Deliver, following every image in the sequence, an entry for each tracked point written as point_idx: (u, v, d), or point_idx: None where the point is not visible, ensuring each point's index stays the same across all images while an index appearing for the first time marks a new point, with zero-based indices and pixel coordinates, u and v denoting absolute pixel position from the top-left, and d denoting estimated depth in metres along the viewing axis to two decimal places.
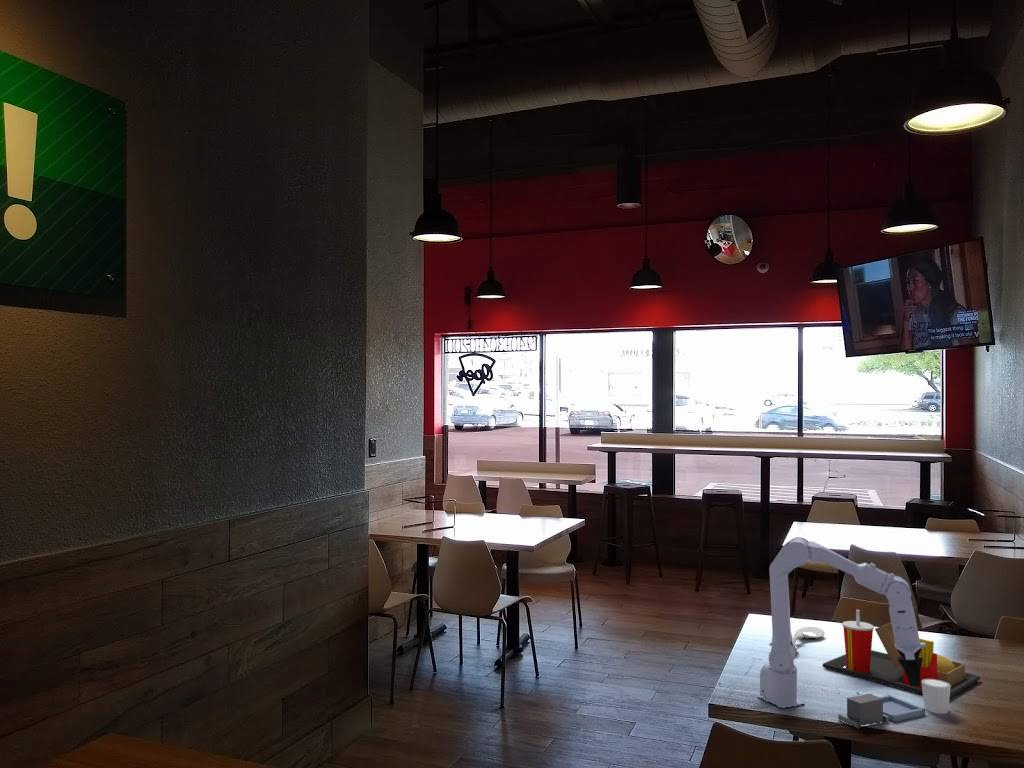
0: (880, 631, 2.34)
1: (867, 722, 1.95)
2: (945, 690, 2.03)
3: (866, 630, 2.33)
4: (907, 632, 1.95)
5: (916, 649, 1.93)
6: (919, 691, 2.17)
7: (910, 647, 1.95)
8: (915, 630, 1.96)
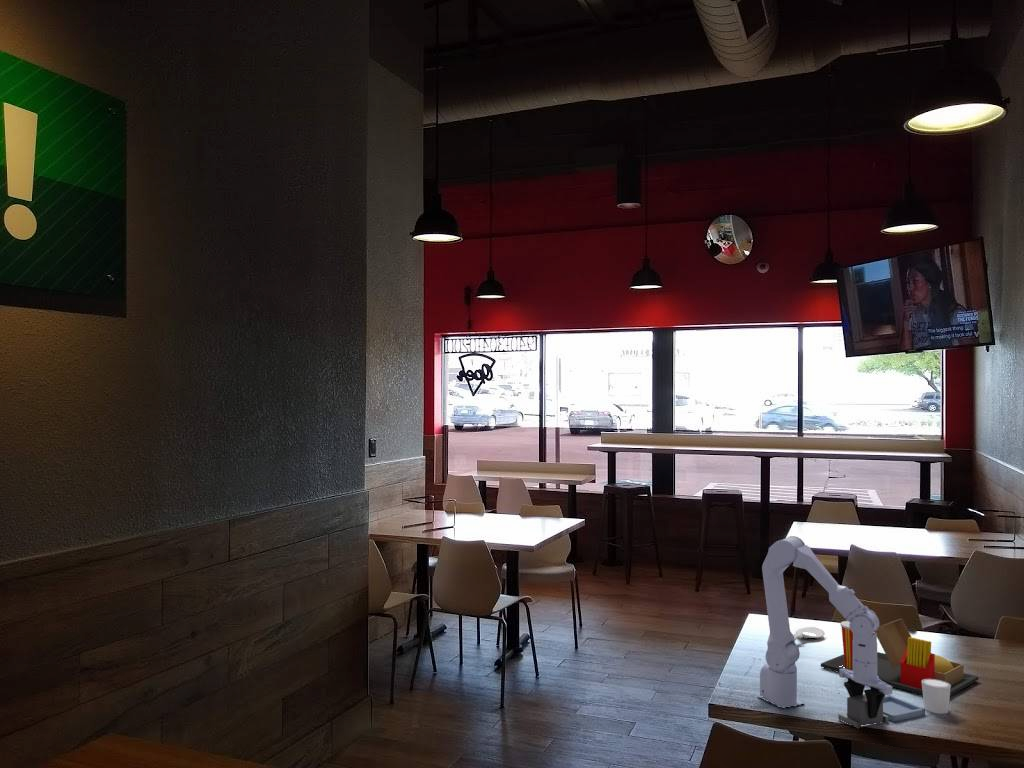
0: (878, 631, 2.34)
1: (867, 721, 1.95)
2: (945, 690, 2.03)
3: None
4: (875, 666, 1.95)
5: None
6: (916, 691, 2.17)
7: (876, 681, 1.95)
8: None
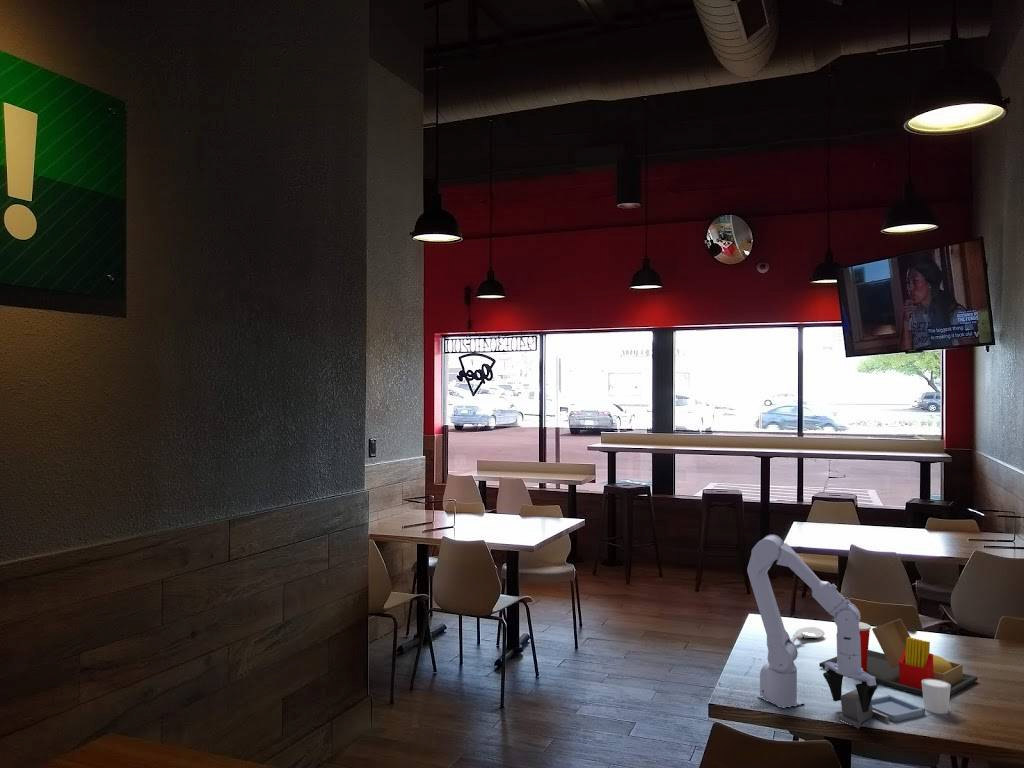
0: (877, 631, 2.34)
1: (862, 717, 1.97)
2: (945, 690, 2.03)
3: (863, 630, 2.33)
4: (859, 658, 2.00)
5: None
6: (914, 691, 2.17)
7: (860, 673, 2.00)
8: None
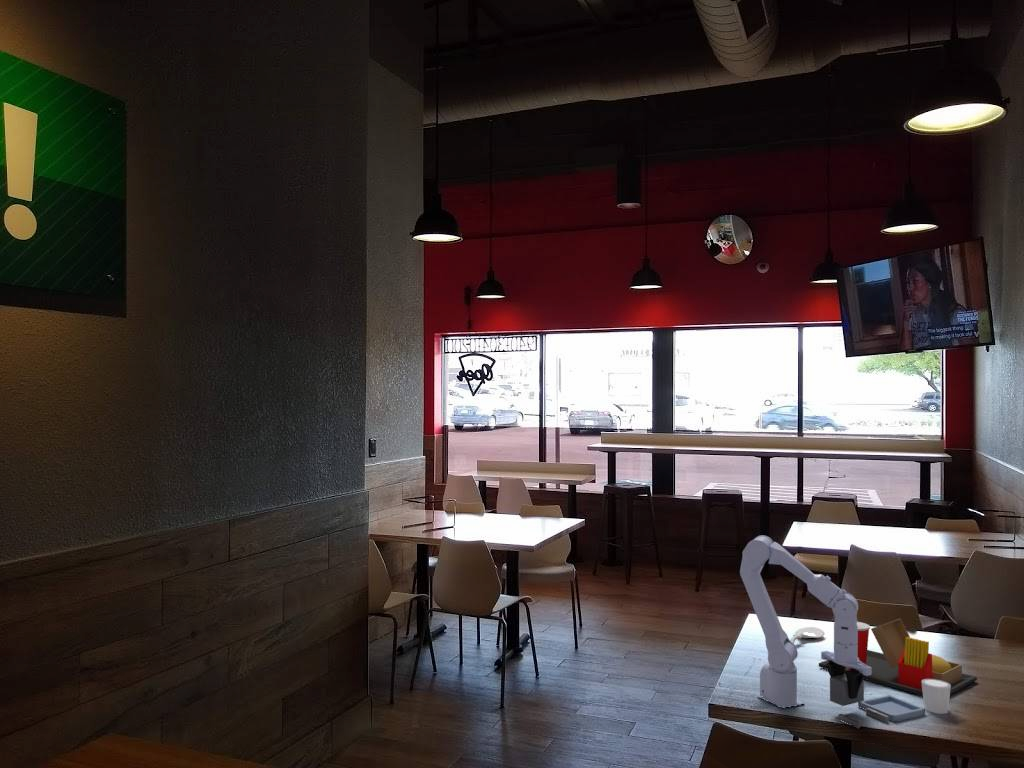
0: (876, 631, 2.34)
1: (849, 700, 2.00)
2: (945, 690, 2.03)
3: (862, 630, 2.33)
4: (855, 648, 2.01)
5: None
6: (913, 691, 2.17)
7: (856, 662, 2.00)
8: None
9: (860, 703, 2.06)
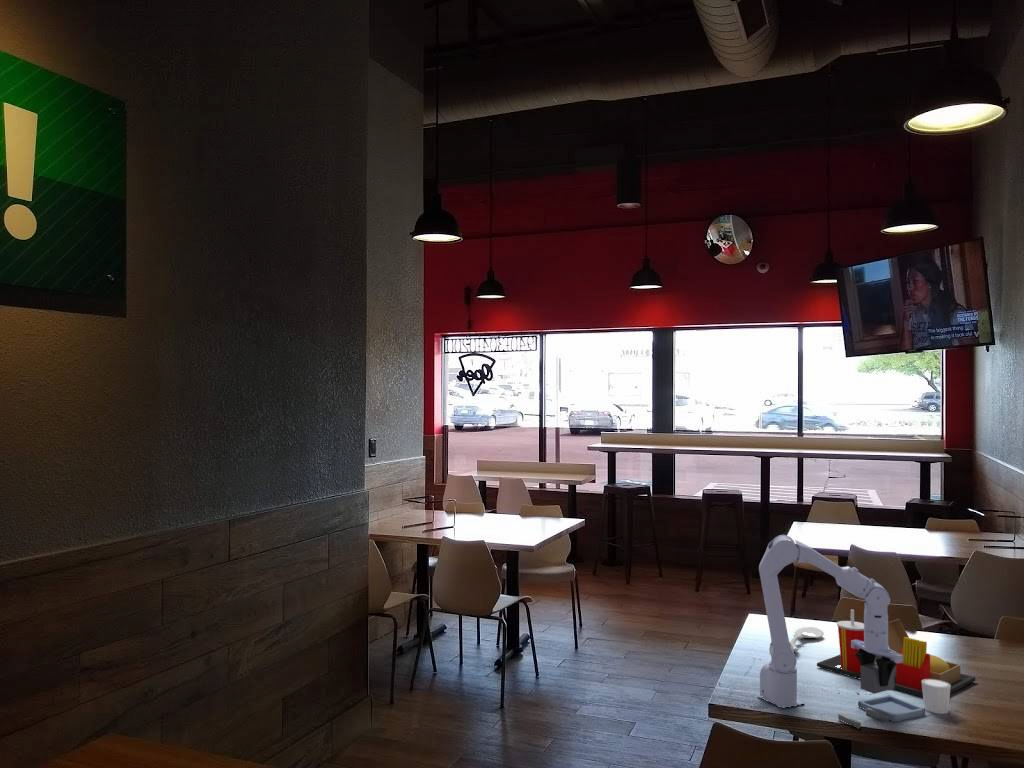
0: None
1: (880, 688, 2.02)
2: (945, 690, 2.03)
3: (860, 630, 2.33)
4: (886, 636, 2.02)
5: None
6: (911, 691, 2.17)
7: (887, 650, 2.02)
8: None
9: (860, 703, 2.06)
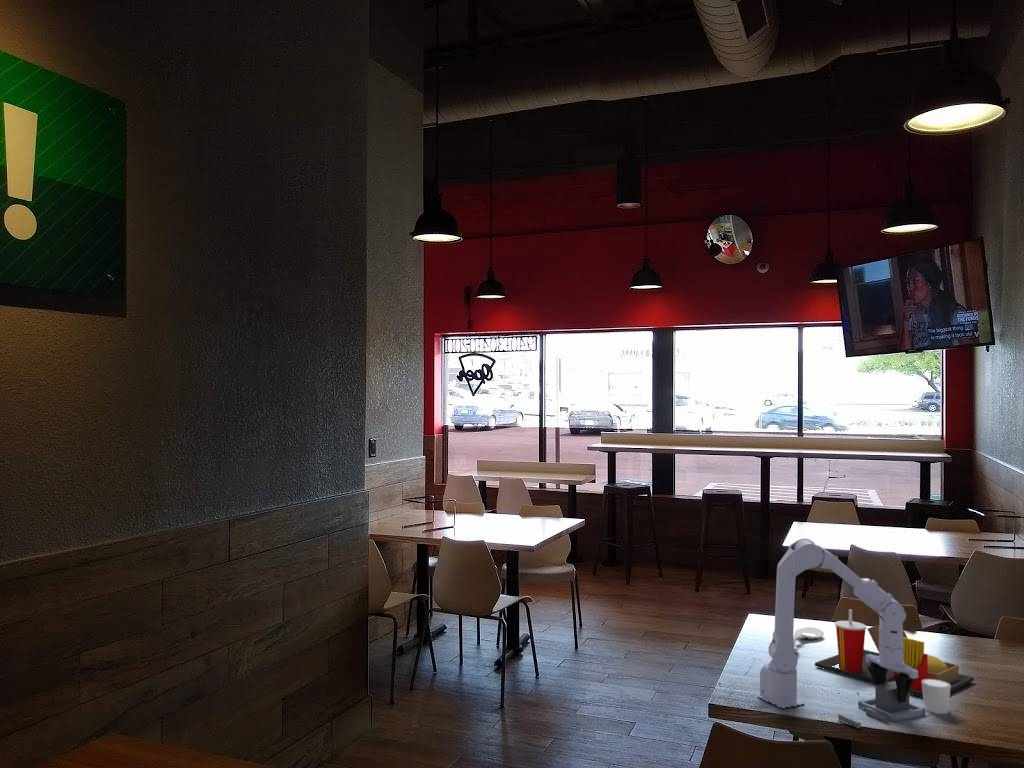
0: (872, 631, 2.34)
1: (895, 708, 2.02)
2: (945, 690, 2.03)
3: (858, 630, 2.33)
4: (901, 651, 2.03)
5: None
6: None
7: (902, 665, 2.02)
8: None
9: (860, 703, 2.06)
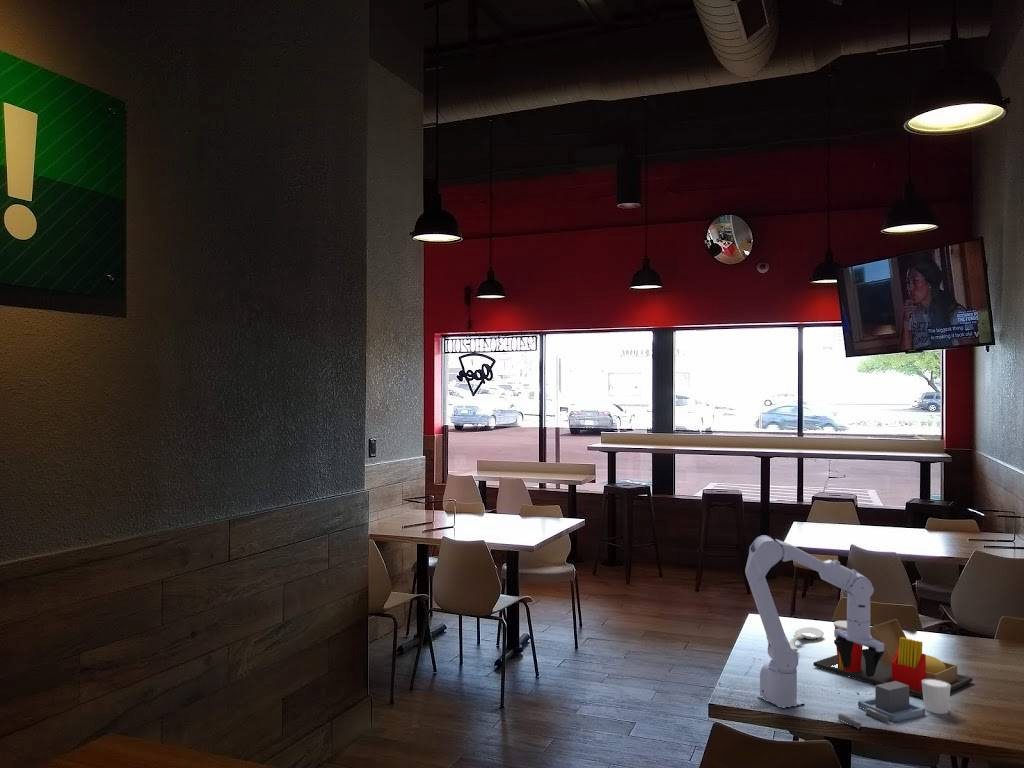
0: (871, 631, 2.34)
1: (895, 708, 2.02)
2: (945, 690, 2.03)
3: None
4: (868, 625, 2.06)
5: None
6: None
7: (869, 639, 2.05)
8: None
9: (860, 703, 2.06)
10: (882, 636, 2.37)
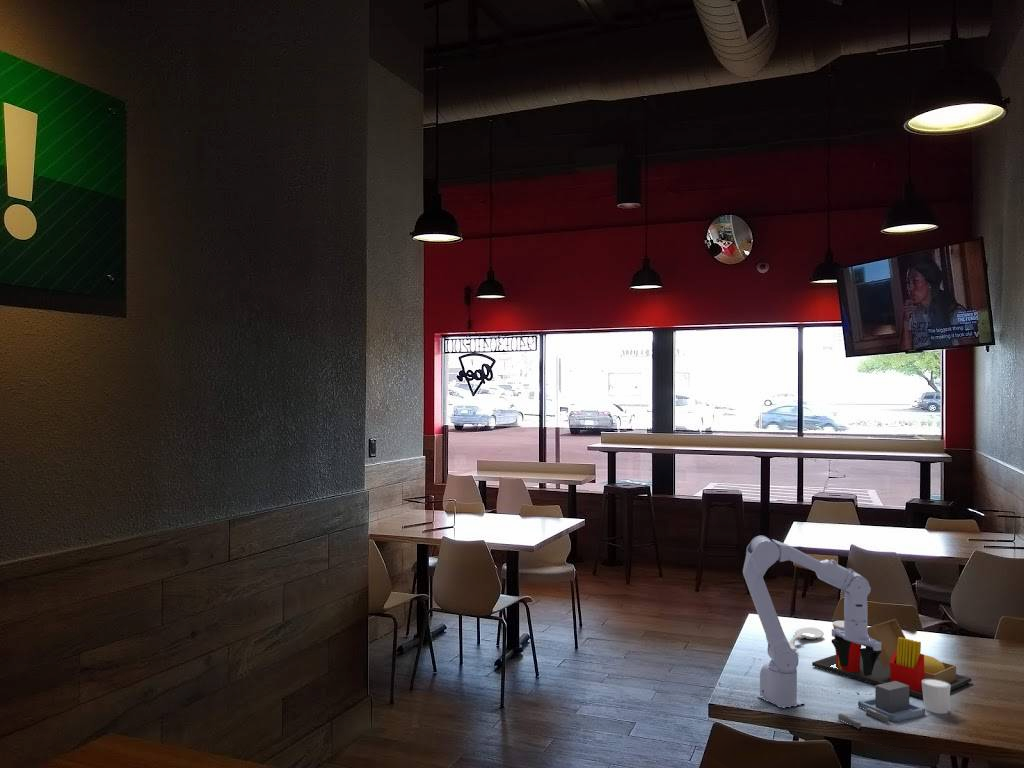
0: (870, 631, 2.34)
1: (895, 708, 2.02)
2: (945, 690, 2.03)
3: None
4: (865, 624, 2.06)
5: None
6: None
7: (866, 638, 2.06)
8: (866, 622, 2.08)
9: (860, 703, 2.06)
10: (881, 636, 2.37)
